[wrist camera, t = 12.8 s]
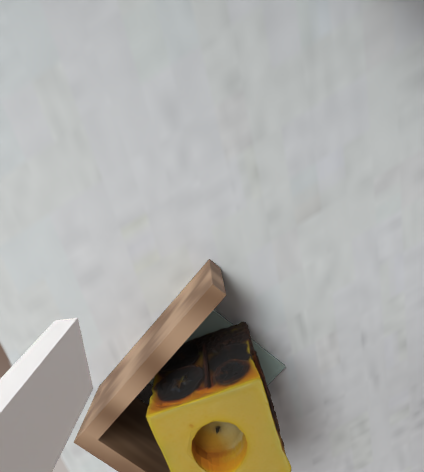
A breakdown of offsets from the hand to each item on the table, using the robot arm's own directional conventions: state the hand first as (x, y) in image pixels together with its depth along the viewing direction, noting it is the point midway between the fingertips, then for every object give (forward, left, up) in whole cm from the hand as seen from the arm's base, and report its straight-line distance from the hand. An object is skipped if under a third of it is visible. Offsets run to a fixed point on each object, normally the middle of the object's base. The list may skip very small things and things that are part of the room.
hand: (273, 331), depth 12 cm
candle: (+13, +10, -24) cm, 29 cm away
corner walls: (+13, +10, -24) cm, 29 cm away
